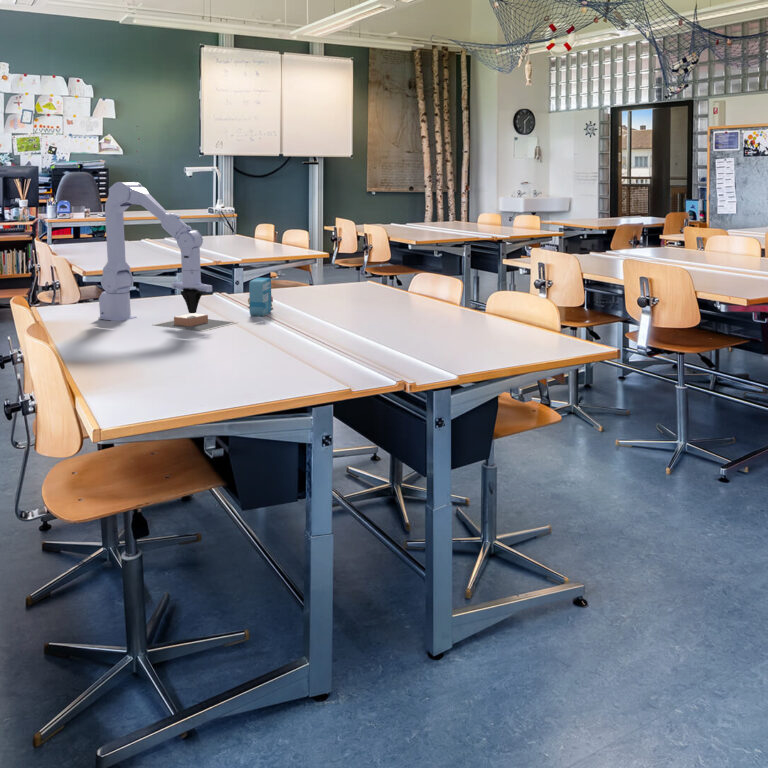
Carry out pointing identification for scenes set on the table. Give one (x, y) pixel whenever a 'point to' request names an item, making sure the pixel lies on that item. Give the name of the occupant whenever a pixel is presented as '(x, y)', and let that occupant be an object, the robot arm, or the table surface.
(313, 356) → the table surface
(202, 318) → the card box
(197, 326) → the mat
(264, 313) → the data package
